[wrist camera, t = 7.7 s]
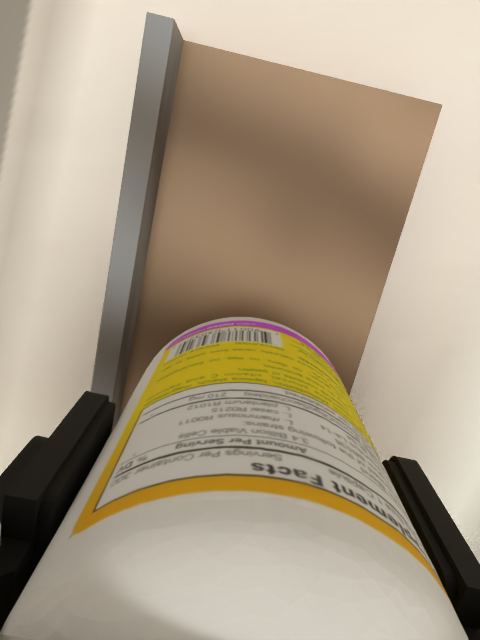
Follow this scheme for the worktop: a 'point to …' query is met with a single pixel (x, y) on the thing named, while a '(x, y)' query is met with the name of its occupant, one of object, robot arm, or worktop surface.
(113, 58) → the worktop surface
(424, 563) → the supplement bottle
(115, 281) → the shelf
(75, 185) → the worktop surface
